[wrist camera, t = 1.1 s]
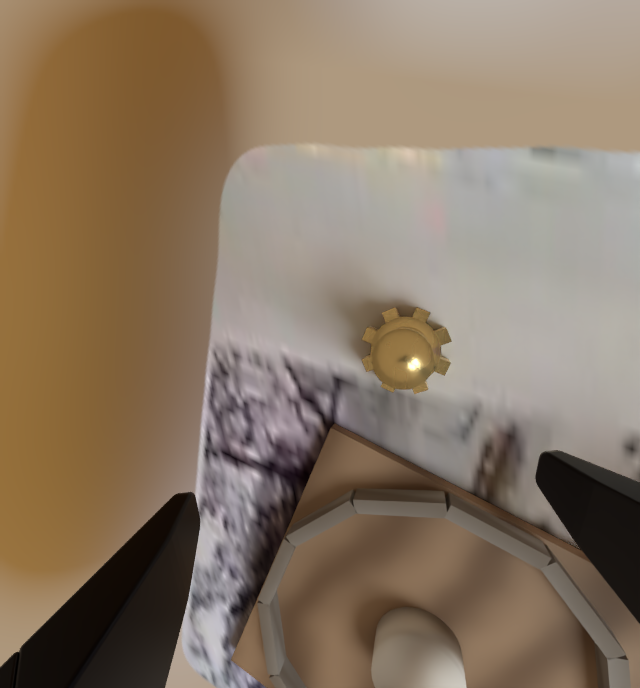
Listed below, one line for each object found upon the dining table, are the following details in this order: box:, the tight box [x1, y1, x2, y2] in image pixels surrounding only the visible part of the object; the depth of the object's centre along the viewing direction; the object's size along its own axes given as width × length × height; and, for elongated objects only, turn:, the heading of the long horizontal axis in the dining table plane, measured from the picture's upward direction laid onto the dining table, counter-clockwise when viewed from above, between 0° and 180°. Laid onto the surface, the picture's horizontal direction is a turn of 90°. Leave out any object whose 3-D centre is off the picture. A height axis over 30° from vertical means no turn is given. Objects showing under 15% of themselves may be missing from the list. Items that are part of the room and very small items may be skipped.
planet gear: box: [362, 308, 452, 394], centre depth 20 cm, size 6×6×6 cm
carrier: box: [231, 423, 640, 688], centre depth 22 cm, size 24×24×4 cm
